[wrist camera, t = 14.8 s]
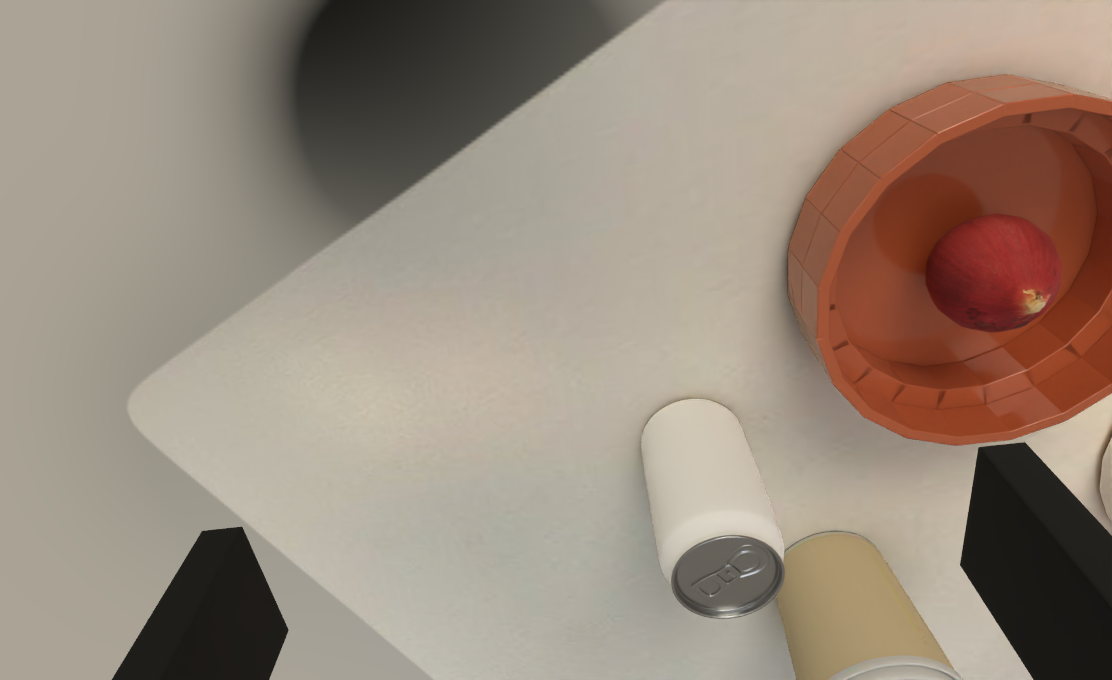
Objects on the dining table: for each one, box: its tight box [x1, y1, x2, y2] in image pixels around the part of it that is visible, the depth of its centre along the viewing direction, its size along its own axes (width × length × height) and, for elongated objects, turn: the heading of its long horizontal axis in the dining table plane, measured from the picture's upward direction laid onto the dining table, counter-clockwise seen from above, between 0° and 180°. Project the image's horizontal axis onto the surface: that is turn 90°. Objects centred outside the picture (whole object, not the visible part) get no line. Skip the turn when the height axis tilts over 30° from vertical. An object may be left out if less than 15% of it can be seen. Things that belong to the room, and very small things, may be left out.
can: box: [641, 399, 785, 619], centre depth 42 cm, size 6×6×12 cm
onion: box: [925, 213, 1062, 333], centre depth 37 cm, size 6×6×8 cm
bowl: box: [788, 74, 1112, 446], centre depth 38 cm, size 18×18×6 cm
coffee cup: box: [776, 531, 963, 680], centre depth 47 cm, size 9×9×12 cm
